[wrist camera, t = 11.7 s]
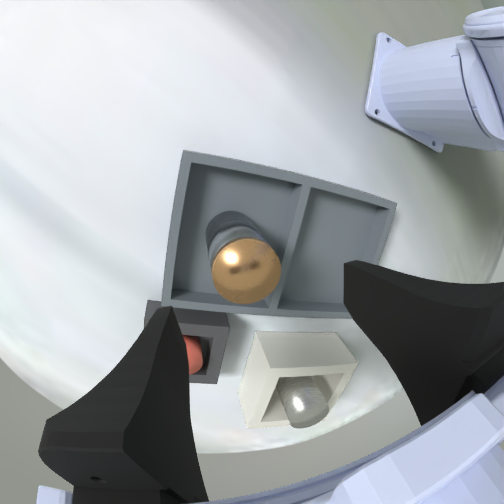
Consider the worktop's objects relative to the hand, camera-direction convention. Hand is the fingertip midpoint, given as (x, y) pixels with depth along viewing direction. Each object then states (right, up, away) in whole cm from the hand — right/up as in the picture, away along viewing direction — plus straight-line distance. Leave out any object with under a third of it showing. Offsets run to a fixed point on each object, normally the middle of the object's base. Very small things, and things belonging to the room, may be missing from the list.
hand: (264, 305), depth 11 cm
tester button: (-6, -5, +10) cm, 12 cm away
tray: (+2, +3, +10) cm, 10 cm away
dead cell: (+3, -9, +14) cm, 17 cm away
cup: (+3, -9, +15) cm, 17 cm away
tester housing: (-6, -5, +11) cm, 13 cm away
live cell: (-2, +3, +8) cm, 9 cm away
